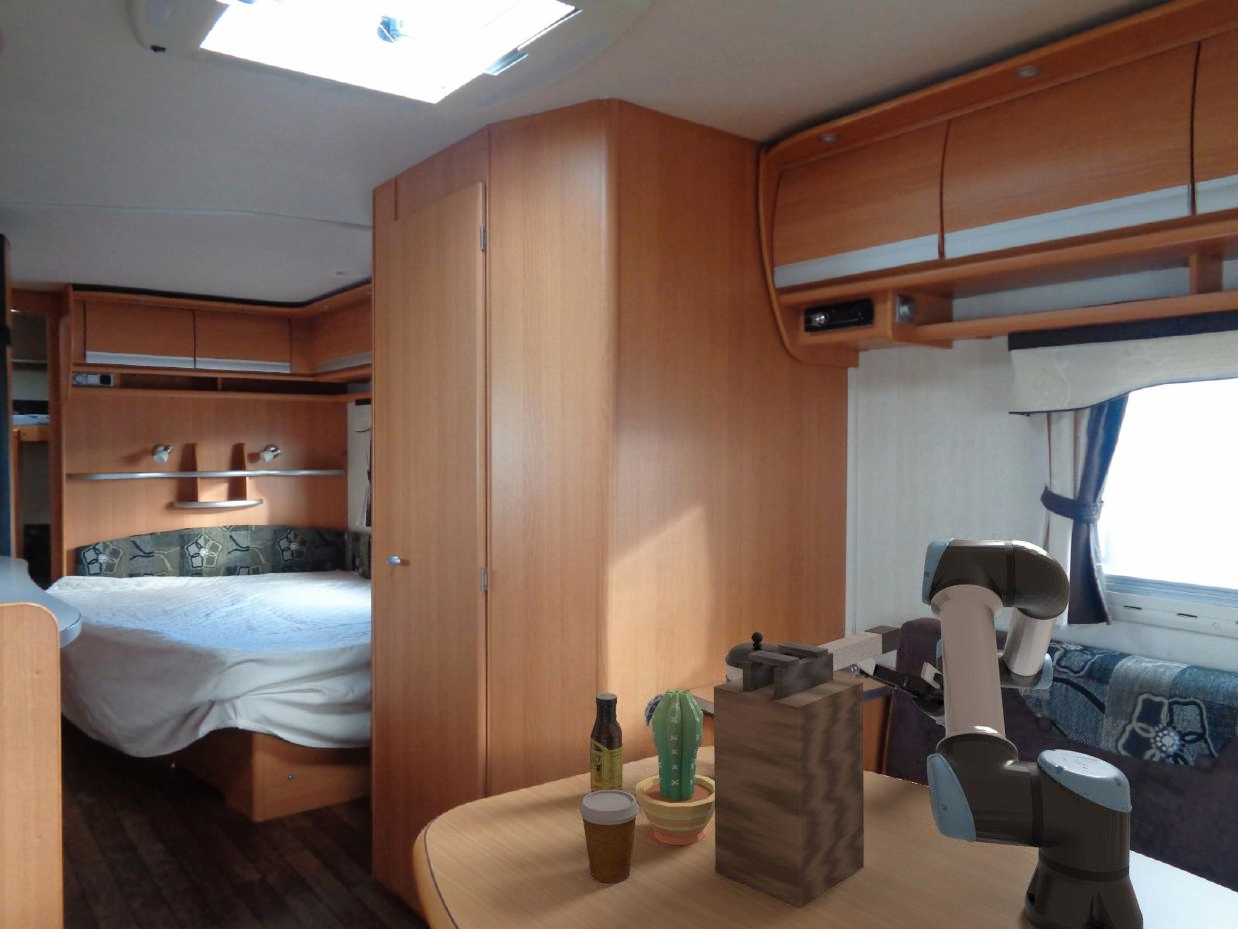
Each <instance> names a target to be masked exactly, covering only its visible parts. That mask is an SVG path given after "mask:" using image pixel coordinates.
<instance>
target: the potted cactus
mask: <svg viewBox="0 0 1238 929" xmlns="http://www.w3.org/2000/svg"><path fill="white" fill-rule="evenodd" d="M703 712H704V711H702V709H701V706H700V705H699V703H697V701H696V699H695V698H694V697H693V695H692V694H691V693H690V690H685V691H683V690H682V688H677V689H676V690H675V691H674V690H671V689H667V690H666V691H665V693H664V694H663V693H660V694H657V695H655V696H654V697H653V698H651V699H650V701H649V702H648V703H647V706H645V709H644V717H645V726H646V727H647V728H648V727H649V725H650V723H651V728H652V730H651V731H652V741H653V743H654V746H655V749H656V752H657V759H658V760H657V761H658V774H657V775H652V776H648V777H645V778H644V779H643V780H641V781H640V782H638V783H637V784H635V796H636V797H635V798H636V802H637V804H639V805H641V807H642V808H643V812H644V815H645V818H646V820H647V821H648V823H649V825H651V827H652V828H653V837H654V838H655V839H656V840H658V841H659V842H661V843H664V844H669V845H671V846H672V845H673V846H686V845H687V846H688V845H690V844H695V843H698V842H700V841H701V840H702V839H703V838H705V832H704V829H705V828H707V825H708V824H709V823H710V822H711V820H712V819H713V816H714V814H715V780H714V779H712V778H710V777H708V776H704V775H700V774H696V773H697V772H696V771H697V770H696V769H697V768H696V767H697V757H698V756H697V755H698V751H699V747H700V744H701V740H702V738H703V727H704V725H703V724H704V723H703V722H704V713H703Z"/></svg>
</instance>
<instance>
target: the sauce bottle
mask: <svg viewBox="0 0 1238 929" xmlns="http://www.w3.org/2000/svg"><path fill="white" fill-rule="evenodd" d="M595 703H596V717H595V721H594V725H593V727H592V730H591V733H590V736H589V739H590V740H589V741H590V742H589V743H590V746H589V748H590V749H589V754H590V755H589V756H590V757H589V758H590V759H589V760H590V762H589V763H590V764H589V766H590V768H589V769H590V775H589V776H590V778H589V779H590V790H591V791H590V793H592V792H596V791H600V790H620V791H623V784H624V783H623V775H624V774H623V771H624V770H623V768H624V767H623V766H624V765H623V764H624V763H623V762H624V759H623V758H624V757H623V756H624V755H623V752H624V751H623V750H624V748H623V730H622V727H621V725H620V723H619V721H618V720H617V704H618V696H617V695H616V694H614V693H609V692H605V693H603V692H602V693H599V694H597V695H596V698H595Z"/></svg>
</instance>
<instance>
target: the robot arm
mask: <svg viewBox="0 0 1238 929" xmlns="http://www.w3.org/2000/svg"><path fill="white" fill-rule="evenodd" d="M923 566H924V567H923V577H922V578H923V579H922V587H921V602H922V603H923V604H924V605H928V606H930V609H931V612H932V614H933V616H934V617H935V618H936V619H937V620H939V621H940V634H941V635H940V639H939V640H938V641H937V643H936V651H935V652H936V655H935V657H936V658H935V664H936V666H935V667H936V668H935V667H934V665H932V664H930V663H929V662H926V661H924V662H923V666H922V668H921V669H922V670H921V674H920V676H918V675H913V674H911V673H908V672H905V671H904V672H898V671H897V670H894V669H891V668H888V667H886V666H883V665H881V664H878V663H877V661H876V660H874V659H873V657H872V658H869V659H866V660H863V661H861V662H858V663H855V664H854V665H855V666H856V667H857V668H859V670H858V674H860V675H862V676H863V677H864V679H871V680H872V681H876V682H877V683H879V684H882V685H884V686H885V687H886V686H887V688H889V689H890V690H891V689H892V690H893V691H895V692H898V691H901V692H903V693H906V694H908V695H909V696H911V699H912V702H913V703H914V706H915V707H917V709H918V710H920V711H921V712H923V713H924V714H925V715H928V716H929V717H930V718H932V719H933V720H934V721H935V724H936V725H942V726H943V727H944V728H945V736H944V737H943V738H942V739H940V740H939V741H938V743H937V745H936V746H935V747H936V748H935V753H933V754H929V755H928V756H927V760H926V775H927V782H928V793H929V801H930V806H931V811H932V812H931V813H932V816H933V820H934V824H935V826H936V828H937V830H938V832H939V834H941V835H943V837H946V838H947V839H948V838H949V839H957V840H961V841H962V840H963V841H966V842H968V843H983V844H984V843H987V844H994V845H996V844H998V845H1008V846H1018V847H1028V848H1037V849H1038V850H1037V851H1038V853H1037V854H1038V857H1037V859H1038V860H1037V864H1036V866H1035V869H1034V870H1033V874H1032V875H1031V878H1030V882H1029V883H1028V886H1027V888H1026V889H1027V890H1026V892H1025V897H1024V913H1025V916H1026V918H1027V920H1028V921H1029V922H1030V924H1032V925H1033V926H1034V928H1036V929H1144V915H1143V913H1142V910H1141V908H1140V907H1141V906H1140V905H1139V904H1140V903H1139V901H1138V899H1137V898H1138V897H1137V895H1136V892H1135V889H1134V887H1133V883H1132V880H1131V877H1130V862H1131V860H1130V858H1131V856H1130V855H1131V851H1130V850H1131V845H1130V844H1131V843H1130V842H1131V811H1132V809H1133V807H1132V802H1131V792H1130V783H1129V780H1128V778H1127V777H1126V775H1125V773H1123V772H1122V771H1121V769H1119V768H1118V767H1116V766H1114V765H1113V764H1111V763H1109V762H1107V761H1105V760H1103V759H1100V758H1099V757H1095V756H1092V755H1090V754H1085V753H1081V752H1077V751H1073V750H1066V749H1055V748H1054V749H1052V750H1051V749H1050V750H1049V749H1046V750H1043V751H1041V752H1040V753H1039V756H1037V762H1035V761H1024V760H1023V761H1021V760H1019V753H1018V749H1017V747H1016V745H1015V744H1014V743H1013V742H1012V741H1010V740H1009V739H1008V738H1006V733H1005V731H1006V730H1005V720H1004V719H1005V718H1004V708H1003V699H1002V698H1003V697H1002V688H1011V689H1026V690H1031V691H1032V690H1048V689H1049V688H1050V687H1051V686H1052V684H1053V677H1054V671H1053V668H1054V667H1053V662H1052V660H1053V659H1052V657H1051V656H1050V654H1049V653H1047V652H1048V649H1049V647H1050V646H1049V645H1050V643H1051V640H1052V636H1053V632H1054V629H1055V628H1056V627H1055V626H1056V623H1057V619H1058V617H1060V616H1062V614H1063V613H1064V612H1065V611H1066V610H1067V608H1068V604H1069V602H1070V597H1071V584H1070V581H1069V577H1068V575H1067V573H1066V571H1065V569H1064V568H1063V566H1062V564H1061V563H1060V562H1059V561H1058V560H1057V559H1056V558H1055V557H1054V556H1053V555H1052V554H1051V553H1049V552H1048V551H1047V550H1045V549H1043V548H1042V547H1040V546H1038V545H1036V544H1033V543H1032V542H1027V541H1025V540H1012V539H1010V540H1003V539H1002V540H998V539H959V538H957V539H956V538H954V537H952V538H950V539H949V538H948V539H935V540H933V541H931V542H930V543H928V546H927V547H926V552H925V559H924V565H923ZM1003 608H1012V612H1011V617H1010V621H1009V624H1008V631H1007V634H1006V640H1005V644H1004V649H998V645H997V638H996V637H997V634H996V624H995V621H996V620H997V619H998V618H999V617H1000V616H1001V615H1002V613H1003ZM906 678H907V679H906Z"/></svg>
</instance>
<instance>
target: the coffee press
mask: <svg viewBox="0 0 1238 929" xmlns="http://www.w3.org/2000/svg"><path fill="white" fill-rule="evenodd" d="M750 638H751V640H752V641H747V642H745V641H744V642H741V643H738V644H735V645H733V646H732V647H731V648H730V649H729V650H728V652H727V654H726V655H725V657H724V662H725V664H726V673H727V674H726V675H725V683H727V682H730V681H733V680H736V679H739V678H742V677H743V662H744V661H747V660H748V654H749V653H753V652H756V651H759V650H761V651H766V652H771V653H773V652H776V651H778V645H779V644H778V645H777V644H776V643H775V644H774V643H771V642H764V641H763V639H764V637H763V635H762V633H761V632H759V631H755V632H753V634H752V635H751V637H750Z"/></svg>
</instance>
